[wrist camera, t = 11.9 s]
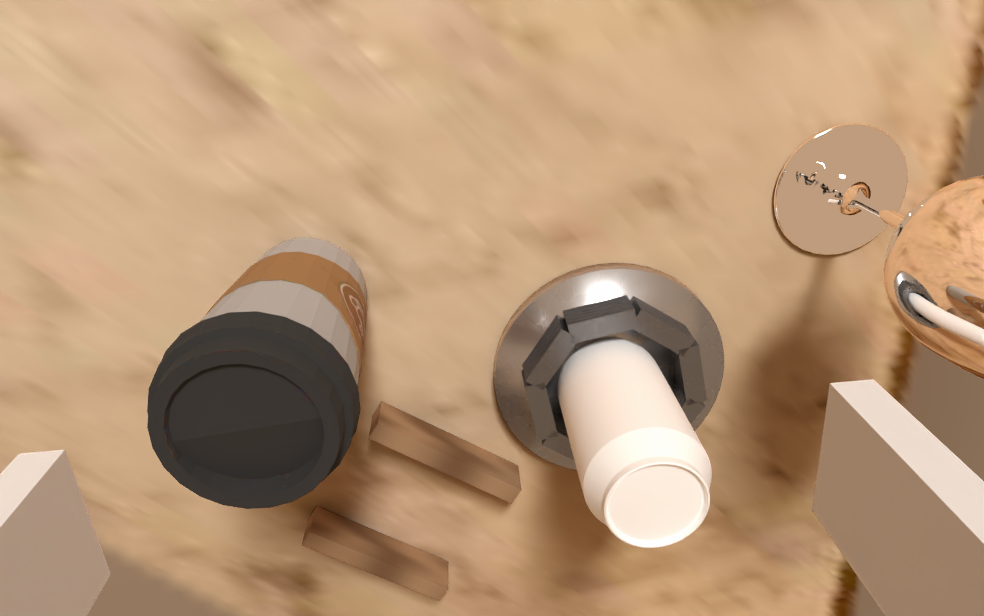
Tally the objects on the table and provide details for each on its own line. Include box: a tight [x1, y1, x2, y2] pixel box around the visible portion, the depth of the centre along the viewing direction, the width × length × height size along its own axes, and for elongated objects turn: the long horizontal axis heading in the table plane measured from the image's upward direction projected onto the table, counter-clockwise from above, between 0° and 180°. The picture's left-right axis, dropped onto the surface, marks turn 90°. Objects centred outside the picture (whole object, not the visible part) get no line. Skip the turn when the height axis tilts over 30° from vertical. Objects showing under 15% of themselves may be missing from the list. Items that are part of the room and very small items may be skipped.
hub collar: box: [494, 263, 724, 470], centre depth 44 cm, size 14×14×3 cm
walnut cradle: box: [302, 401, 521, 600], centre depth 47 cm, size 10×10×2 cm
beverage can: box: [558, 338, 712, 548], centre depth 39 cm, size 6×6×12 cm
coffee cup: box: [147, 238, 367, 509], centre depth 35 cm, size 8×8×15 cm
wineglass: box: [774, 123, 984, 379], centre depth 32 cm, size 8×8×20 cm
